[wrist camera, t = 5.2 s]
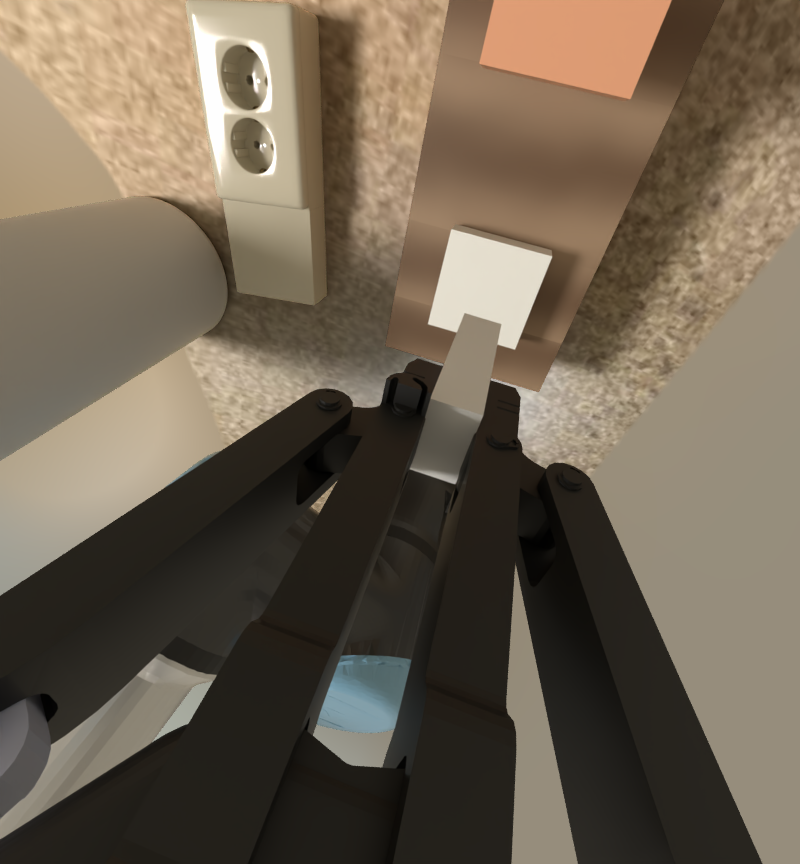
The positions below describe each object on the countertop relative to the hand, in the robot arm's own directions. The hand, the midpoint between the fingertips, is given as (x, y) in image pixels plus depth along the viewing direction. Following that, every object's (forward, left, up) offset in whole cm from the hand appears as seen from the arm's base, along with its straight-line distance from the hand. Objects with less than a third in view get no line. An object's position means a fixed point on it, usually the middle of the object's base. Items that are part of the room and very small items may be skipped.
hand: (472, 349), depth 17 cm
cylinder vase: (-10, +29, -19) cm, 36 cm away
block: (+5, 0, -19) cm, 19 cm away
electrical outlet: (+1, +18, -19) cm, 26 cm away
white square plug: (-1, 0, -18) cm, 18 cm away
